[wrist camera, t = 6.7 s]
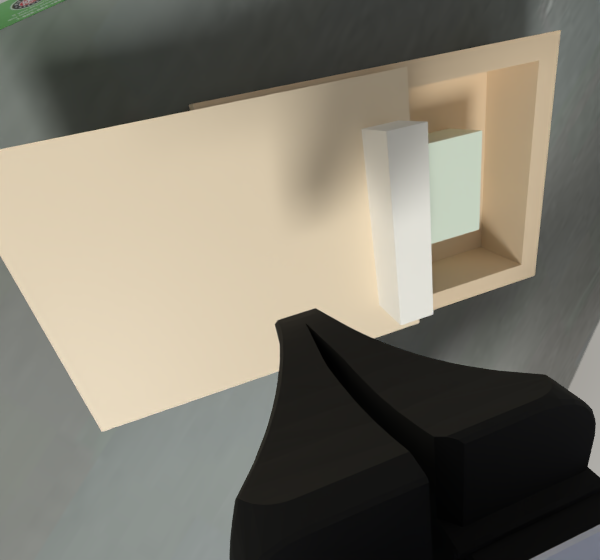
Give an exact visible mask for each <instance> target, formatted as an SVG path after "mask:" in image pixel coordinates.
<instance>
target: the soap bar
mask: <svg viewBox="0 0 600 560" xmlns="http://www.w3.org/2000/svg"><path fill="white" fill-rule="evenodd" d="M428 147H429V182H430V217H431V244H433V243H436V242H440V241H443V240H446V239H450V238H453V237H456V236H460V235H463V234H466V233H469V232H473V231H476V230H479V221H480V189H481V157H482V130H468V129H452V128H448V129H444V130H440V131H436V132H432V133H428Z"/></svg>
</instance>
